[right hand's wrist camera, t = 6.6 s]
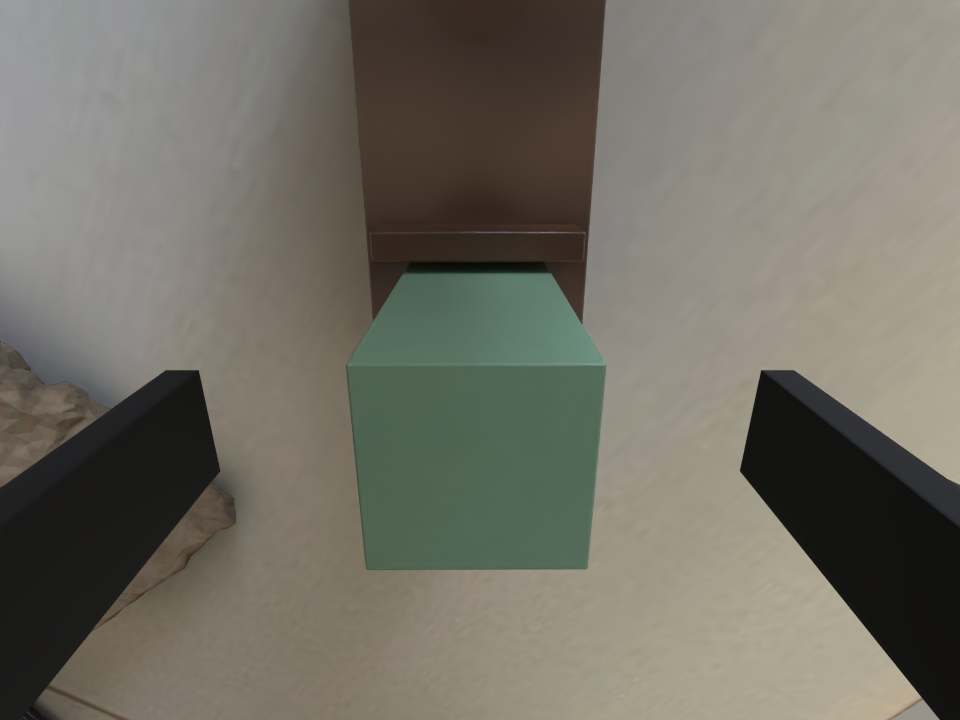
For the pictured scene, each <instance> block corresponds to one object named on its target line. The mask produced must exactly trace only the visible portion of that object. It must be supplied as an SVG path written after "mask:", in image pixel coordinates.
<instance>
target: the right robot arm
mask: <svg viewBox="0 0 960 720" xmlns="http://www.w3.org/2000/svg"><path fill="white" fill-rule="evenodd" d="M219 472H220V468H219V463H218V459H217V454H216V449H215V445H214V440H213V435H212V430H211V426H210V421H209V416H208V412H207V407H206V402H205V397H204V393H203V388H202V383H201V379H200V374H199V370H166V371H164V372H163V373H162V374H160V375H159V376H157V377H156V378H154V379H153V380H152V381H150V382H149V383H147V384H146V385H145V386H143V387H142V388H140V389H139V390H138V391H136V392H135V393H133V394H132V395H131V396H129V397H128V398H126V399H125V400H123V401H122V402H121V403H119V404H118V405H116V406H115V407H114V408H112V409H111V410H109V411H108V412H107V413H105V414H104V415H102V416H101V417H100V418H98V419H97V420H95V421H94V422H92V423H91V424H90V425H88V426H87V427H85V428H84V429H83V430H81V431H80V432H78V433H77V434H76V435H74V436H73V437H71V438H70V439H69V440H67V441H66V442H64V443H63V444H61V445H60V446H59V447H57V448H56V449H54V450H53V451H52V452H50V453H49V454H47V455H46V456H45V457H43V458H42V459H40V460H39V461H38V462H36V463H35V464H33V465H32V466H30V467H29V468H28V469H26V470H25V471H23V472H22V473H21V474H19V475H18V476H16V477H15V478H14V479H12V480H11V481H9V482H8V483H7V484H5V485H4V486H2V487H0V720H20V719H21V718H22V717H23V716H24V714H25V713H26V712H27V711H28V710H29V708H30V707H31V706H32V705H33V703H34V702H35V701H36V700H37V698H38V697H39V696H40V695H41V693H42V692H43V691H44V690H45V688H46V687H47V686H48V685H49V683H50V682H51V681H52V680H53V678H54V677H55V676H56V675H57V673H58V672H59V671H60V670H61V668H62V667H63V666H64V665H65V663H66V662H67V661H68V660H69V658H70V657H71V656H72V655H73V653H74V652H75V651H76V650H77V649H78V647H79V646H80V645H81V644H82V642H83V641H84V640H85V639H86V637H87V636H88V635H89V634H90V632H91V631H92V630H93V629H94V627H95V626H96V625H97V624H98V622H99V621H100V620H101V619H102V617H103V616H104V615H105V614H106V612H107V611H108V610H109V609H110V607H111V606H112V605H113V604H114V602H115V601H116V600H117V599H118V597H119V596H120V595H121V594H122V593H123V591H124V590H125V589H126V588H127V586H128V585H129V584H130V583H131V581H132V580H133V579H134V578H135V576H136V575H137V574H138V573H139V571H140V570H141V569H142V568H143V566H144V565H145V564H146V563H147V561H148V560H149V559H150V558H151V556H152V555H153V554H154V553H155V551H156V550H157V549H158V548H159V546H160V545H161V544H162V543H163V541H164V540H165V539H166V538H167V536H168V535H169V534H170V533H171V532H172V530H173V529H174V528H175V527H176V525H177V524H178V523H179V522H180V520H181V519H182V518H183V517H184V515H185V514H186V513H187V512H188V510H189V509H190V508H191V507H192V505H193V504H194V503H195V502H196V500H197V499H198V498H199V497H200V495H201V494H202V493H203V492H204V490H205V489H206V488H207V487H208V485H209V484H210V483H211V482H212V480H213V479H214V478H215V477H216V475H217V474H218V473H219ZM740 472H741V473H742V474H743V475H744V477H745V478H746V479H747V480H748V482H749V483H750V484H751V485H752V487H753V488H754V489H755V490H756V492H757V493H758V494H759V495H760V497H761V498H762V499H763V500H764V502H765V503H766V504H767V505H768V507H769V508H770V509H771V510H772V512H773V513H774V514H775V515H776V517H777V518H778V519H779V520H780V522H781V523H782V524H783V525H784V527H785V528H786V529H787V530H788V532H789V533H790V534H791V535H792V536H793V538H794V539H795V540H796V541H797V543H798V544H799V545H800V546H801V548H802V549H803V550H804V551H805V553H806V554H807V555H808V556H809V558H810V559H811V560H812V561H813V563H814V564H815V565H816V566H817V568H818V569H819V570H820V571H821V573H822V574H823V575H824V576H825V578H826V579H827V580H828V581H829V583H830V584H831V585H832V586H833V588H834V589H835V590H836V591H837V593H838V594H839V595H840V596H841V597H842V599H843V600H844V601H845V602H846V604H847V605H848V606H849V607H850V609H851V610H852V611H853V612H854V614H855V615H856V616H857V617H858V619H859V620H860V621H861V622H862V624H863V625H864V626H865V627H866V629H867V630H868V631H869V632H870V634H871V635H872V636H873V637H874V639H875V640H876V641H877V642H878V644H879V645H880V646H881V647H882V649H883V650H884V651H885V652H886V653H887V655H888V656H889V657H890V658H891V660H892V661H893V662H894V663H895V665H896V666H897V667H898V668H899V670H900V671H901V672H902V673H903V675H904V676H905V677H906V678H907V680H908V681H909V682H910V683H911V685H912V686H913V687H914V688H915V690H916V691H917V692H918V693H919V695H920V696H921V697H922V698H923V700H924V701H925V702H926V703H927V705H928V706H929V707H930V708H931V710H932V711H933V712H934V713H935V714H936V716H937V717H938V718H939V719H940V720H960V485H959V484H957V483H955V482H952V481H950V480H948V479H946V478H945V477H944V476H942V475H941V474H939V473H938V472H937V471H935V470H934V469H932V468H931V467H930V466H928V465H927V464H925V463H924V462H922V461H921V460H920V459H918V458H917V457H915V456H914V455H913V454H911V453H910V452H908V451H907V450H906V449H904V448H903V447H901V446H900V445H899V444H897V443H896V442H894V441H893V440H891V439H890V438H889V437H887V436H886V435H884V434H883V433H882V432H880V431H879V430H877V429H876V428H875V427H873V426H872V425H870V424H869V423H868V422H866V421H865V420H863V419H862V418H860V417H859V416H858V415H856V414H855V413H853V412H852V411H851V410H849V409H848V408H846V407H845V406H844V405H842V404H841V403H839V402H838V401H837V400H835V399H834V398H832V397H831V396H829V395H828V394H827V393H825V392H824V391H822V390H821V389H820V388H818V387H817V386H815V385H814V384H813V383H811V382H810V381H808V380H807V379H806V378H804V377H803V376H801V375H800V374H798V373H797V372H796V371H794V370H761V374H760V379H759V383H758V388H757V393H756V397H755V402H754V407H753V412H752V416H751V421H750V426H749V430H748V435H747V440H746V445H745V449H744V454H743V459H742V463H741V468H740Z"/></svg>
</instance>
